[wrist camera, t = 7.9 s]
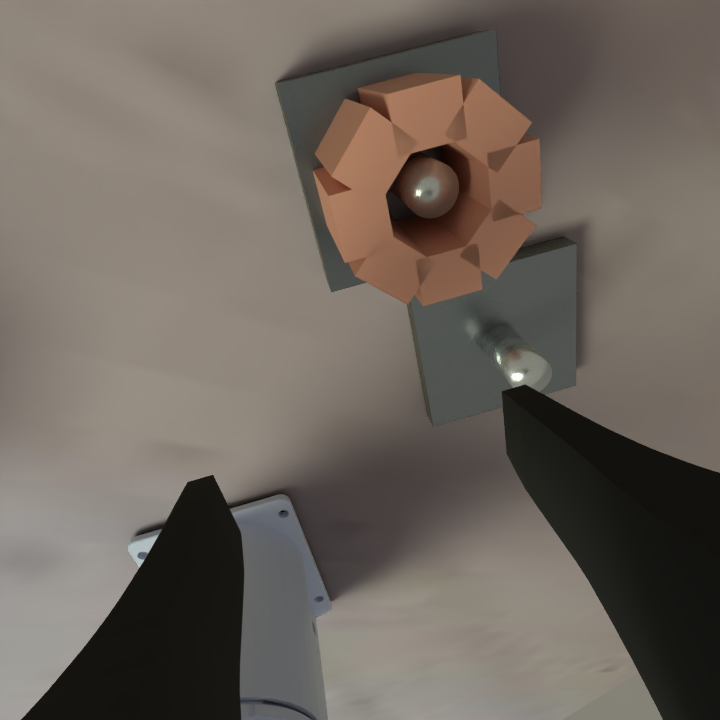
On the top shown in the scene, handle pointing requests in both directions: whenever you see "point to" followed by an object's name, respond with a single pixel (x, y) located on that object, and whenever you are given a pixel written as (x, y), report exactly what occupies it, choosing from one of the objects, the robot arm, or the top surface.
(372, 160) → the ring
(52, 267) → the top surface
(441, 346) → the stand
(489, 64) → the square peg base
